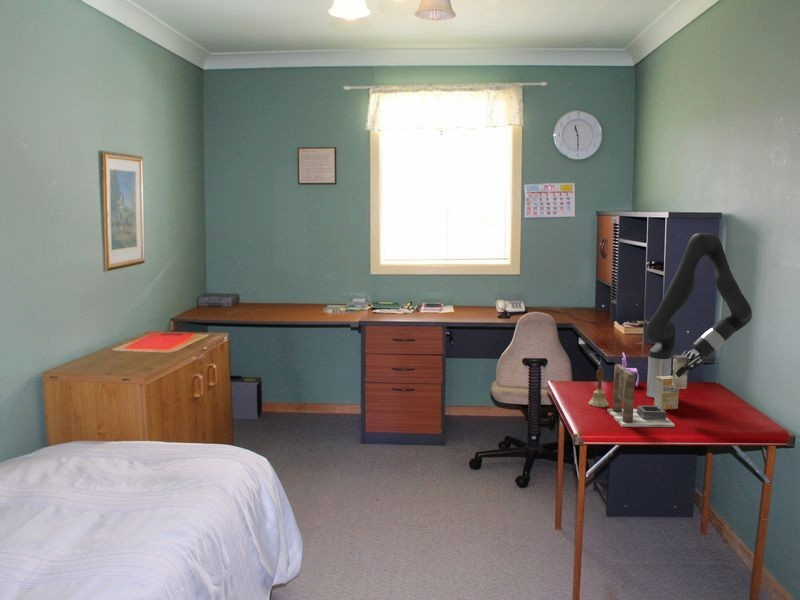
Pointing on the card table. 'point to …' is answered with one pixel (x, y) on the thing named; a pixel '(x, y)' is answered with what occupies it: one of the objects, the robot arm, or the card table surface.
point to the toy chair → (632, 370)
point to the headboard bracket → (628, 415)
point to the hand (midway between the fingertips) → (674, 373)
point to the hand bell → (599, 392)
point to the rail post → (677, 364)
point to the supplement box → (666, 393)
